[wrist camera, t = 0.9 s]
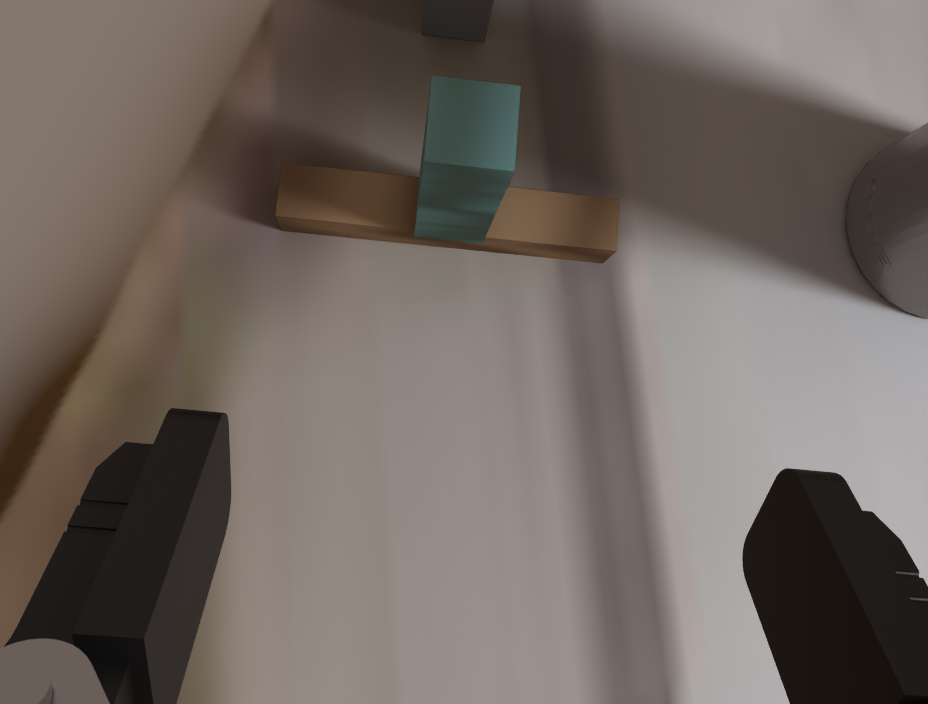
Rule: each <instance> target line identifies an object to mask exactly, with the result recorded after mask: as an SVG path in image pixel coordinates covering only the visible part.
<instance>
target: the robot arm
mask: <svg viewBox="0 0 928 704" xmlns="http://www.w3.org/2000/svg"><path fill="white" fill-rule="evenodd" d="M847 231H848V238H849V241H850V245H851V249H852V253H853V255H854V257H855V259H856V261H857V263H858V265H859V267H860V269H861V271H862V273H863V274H864V276H865V277H866V278H867V280H868V281H869V282H870V283H871V285H872V286H873V287H874V288H875V289H876V290H877V291H878V292H879V293H880V294H881V295H882V296H883V297H885V298H886V299H887V300H888V301H889V302H891V303H892V304H894V305H896V306H897V307H899V308H901V309H903V310H904V311H906V312H909V313H912V314H914V315H917V316H920V317H923V318H928V123H926V124H925V125H923V126H922V127H920V128H918V129H917V130H915V131H914V132H912V133H910V134H909V135H907V136H906V137H904V138H902V139H901V140H899V141H898V142H896V143H895V144H893V145H891V146H890V147H888V148H887V149H885V150H883V151H882V152H880V153H879V154H878V155H877V156H876V157H874V158H873V159H872V160H871V161H870V162H869V163H868V164H867V165H866V166H865V167H864V169H863V170H862V172H861V173H860V175H859V176H858V178H857V179H856V181H855V184H854V186H853V189H852V191H851V194H850V197H849V203H848V209H847ZM230 504H231V472H230V446H229V423H228V417H227V414H226V413H218V412H208V411H197V410H187V409H176V408H172V409H170V410H169V411H168V413H167V414H166V416H165V419H164V421H163V423H162V426H161V428H160V430H159V433H158V435H157V437H156V440H155V442H154V444H142V443H131V442H125V443H124V444H123V445H122V446H121V447H119V448H118V449H117V450H116V451H115V452H114V453H112V454H111V455H110V456H109V457H108V458H107V459H106V460H104V461H103V462H102V463H101V464H100V465H99V466H98V467H96V469H95V471H94V473H93V475H92V477H91V479H90V481H89V483H88V485H87V487H86V489H85V491H84V493H83V495H82V497H81V502H80V505H77V507H76V509H75V511H74V513H73V515H72V517H71V519H70V521H69V523H68V529H67V532H64V533H63V535H62V537H61V539H60V541H59V543H58V545H57V547H56V549H55V551H54V553H53V555H52V557H51V559H50V561H49V563H48V565H47V567H46V569H45V571H44V573H43V575H42V577H41V580H40V582H39V584H38V586H37V588H36V590H35V592H34V594H33V596H32V598H31V600H30V602H29V604H28V606H27V608H26V610H25V612H24V614H23V616H22V618H21V620H20V622H19V624H18V626H17V628H16V629H15V631H14V633H13V635H12V636H11V638H10V639H9V641H8V642H7V643H6V644H5V646H4V647H2V648H0V704H176V703H177V700H178V696H179V693H180V689H181V686H182V682H183V679H184V675H185V672H186V669H187V665H188V662H189V658H190V655H191V651H192V648H193V644H194V641H195V637H196V634H197V631H198V627H199V624H200V620H201V617H202V613H203V610H204V606H205V603H206V599H207V596H208V592H209V589H210V586H211V582H212V579H213V575H214V572H215V568H216V565H217V561H218V558H219V554H220V551H221V548H222V544H223V541H224V537H225V533H226V529H227V525H228V519H229V512H230ZM743 571H744V576H745V579H746V582H747V585H748V588H749V591H750V594H751V596H752V599H753V602H754V605H755V608H756V610H757V613H758V616H759V619H760V621H761V624H762V627H763V630H764V633H765V635H766V638H767V641H768V644H769V647H770V649H771V652H772V655H773V658H774V660H775V663H776V666H777V669H778V672H779V674H780V677H781V680H782V683H783V685H784V688H785V691H786V694H787V697H788V699H789V702H790V704H928V586H927V584H926V583H925V581H924V579H923V578H919V570H918V569H917V567H916V565H915V563H914V562H913V560H912V558H911V557H910V555H909V553H908V551H907V550H906V548H905V546H904V544H903V543H902V541H901V540H900V539H899V538H898V537H897V536H896V535H895V534H894V533H893V532H892V531H891V530H890V529H889V528H888V527H887V526H886V525H885V524H884V523H883V522H882V521H881V520H880V519H879V518H878V517H877V516H876V515H875V514H874V513H873V512H870V511H862V510H861V508H860V506H859V504H858V502H857V500H856V499H855V497H854V495H853V493H852V491H851V489H850V488H849V486H848V484H847V482H846V481H845V479H844V478H843V477H842V476H841V475H839V474H837V473H832V472H821V471H810V470H800V469H784V470H782V471H781V472H780V473H779V474H778V475H777V477H776V479H775V481H774V483H773V485H772V487H771V489H770V491H769V493H768V495H767V497H766V499H765V501H764V502H763V504H762V506H761V508H760V510H759V512H758V514H757V516H756V518H755V520H754V522H753V524H752V526H751V528H750V530H749V532H748V534H747V537H746V539H745V543H744V548H743Z"/></svg>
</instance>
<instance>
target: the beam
mask: <svg viewBox="0 0 928 704" xmlns="http://www.w3.org/2000/svg"><path fill="white" fill-rule="evenodd" d="M520 90H521V86H519V85H511V84H502V83H494V82H486V81H477V80H469V79H460V78H452V77H444V76H435V75H432V76H431V84H430V93H429V101H428V109H427V117H426V125H425V134H424V142H423V150H422V158H421V167H420V176H419V177H411V176H401V175H392V174H383V173H374V172H364V171H355V170H346V169H337V168H327V167H318V166H309V165H300V164H290V163H281V170H280V179H279V188H278V197H277V205H276V214H275V216H276V219H277V221H278V223H279V225H280V228H281V230H282V231H289V232H299V233H309V234H319V235H328V236H338V237H348V238H358V239H368V240H378V241H388V242H398V243H407V244H417V245H427V246H437V247H447V248H457V249H467V250H476V251H486V252H496V253H506V254H516V255H526V256H536V257H546V258H555V259H565V260H575V261H585V262H595V263H604V262H605V261H606V260H607V259H608V258H609V257H610V256H612V255H613V254H614V253H615V252H616V251H617V233H618V214H619V199H614V198H605V197H595V196H586V195H577V194H568V193H558V192H549V191H540V190H531V189H522V188H512V187H508V185H509V183H510V181H511V178H512V176H513V174H514V172H515V160H516V146H517V132H518V118H519V104H520Z"/></svg>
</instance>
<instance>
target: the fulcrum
mask: <svg viewBox="0 0 928 704" xmlns="http://www.w3.org/2000/svg"><path fill="white" fill-rule="evenodd" d="M493 1H494V0H425V5H424V16H423V28H422V35H431V36H439V37H447V38H455V39H463V40H471V41H479V42H484V39H485V35H486V31H487V26H488V22H489V18H490V14H491V9H492V5H493Z"/></svg>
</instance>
